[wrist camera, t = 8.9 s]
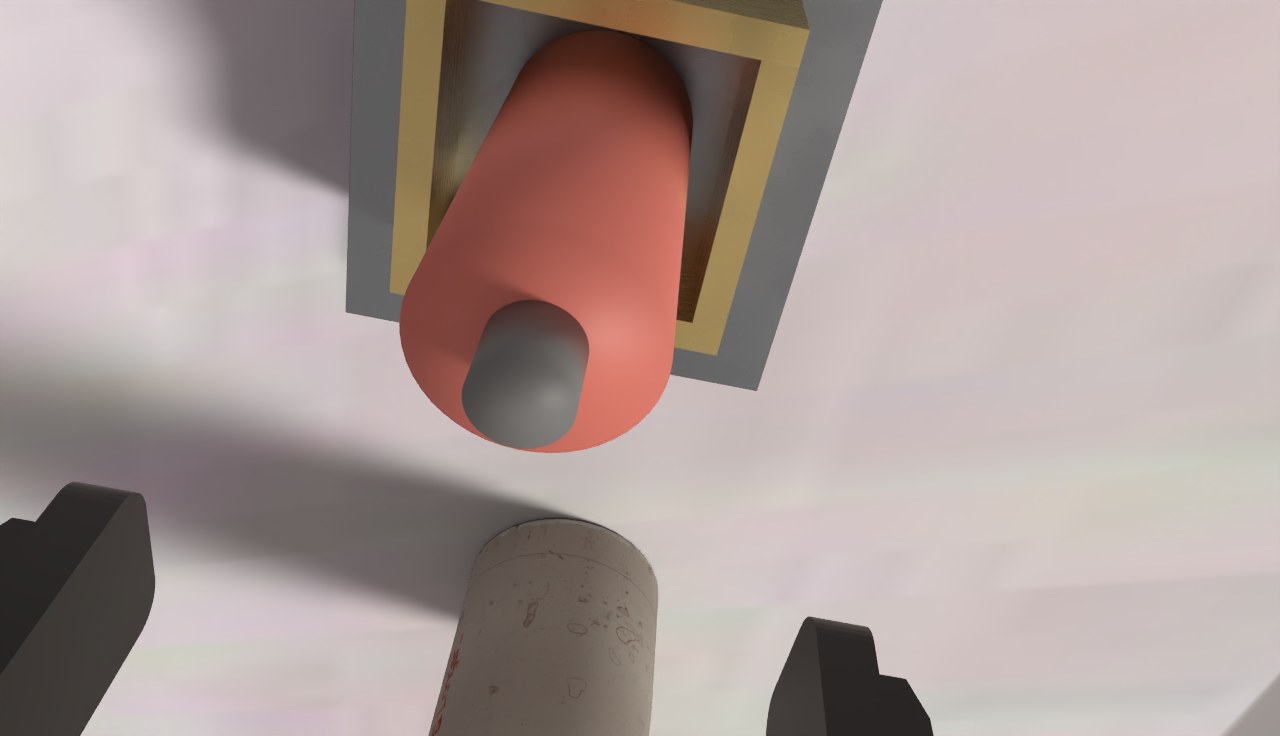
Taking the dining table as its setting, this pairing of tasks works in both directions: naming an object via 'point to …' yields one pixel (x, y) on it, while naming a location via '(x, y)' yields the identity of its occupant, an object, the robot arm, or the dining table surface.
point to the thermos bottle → (553, 637)
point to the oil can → (560, 253)
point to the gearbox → (720, 151)
